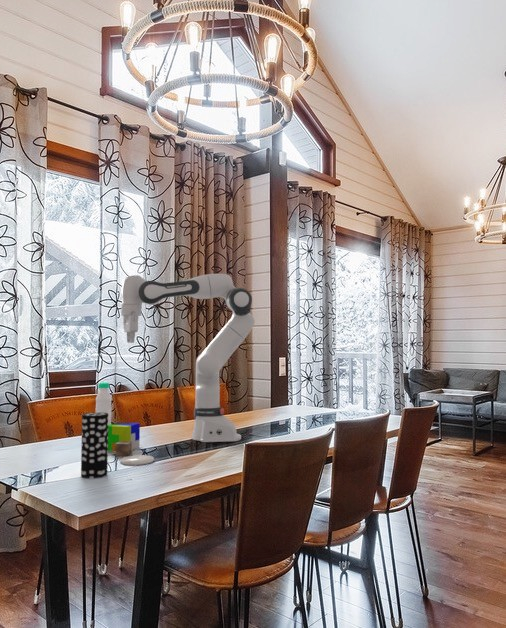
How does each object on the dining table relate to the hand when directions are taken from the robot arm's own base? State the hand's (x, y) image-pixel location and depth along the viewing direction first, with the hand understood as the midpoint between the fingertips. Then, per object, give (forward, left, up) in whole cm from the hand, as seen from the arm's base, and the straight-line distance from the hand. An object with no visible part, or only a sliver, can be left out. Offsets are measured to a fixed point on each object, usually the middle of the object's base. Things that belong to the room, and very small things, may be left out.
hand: (130, 342), depth 231 cm
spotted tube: (-5, +58, -44) cm, 73 cm away
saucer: (-14, +38, -44) cm, 59 cm away
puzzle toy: (-2, +16, -44) cm, 47 cm away
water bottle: (+14, -8, -44) cm, 47 cm away
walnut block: (-6, +28, -44) cm, 52 cm away
